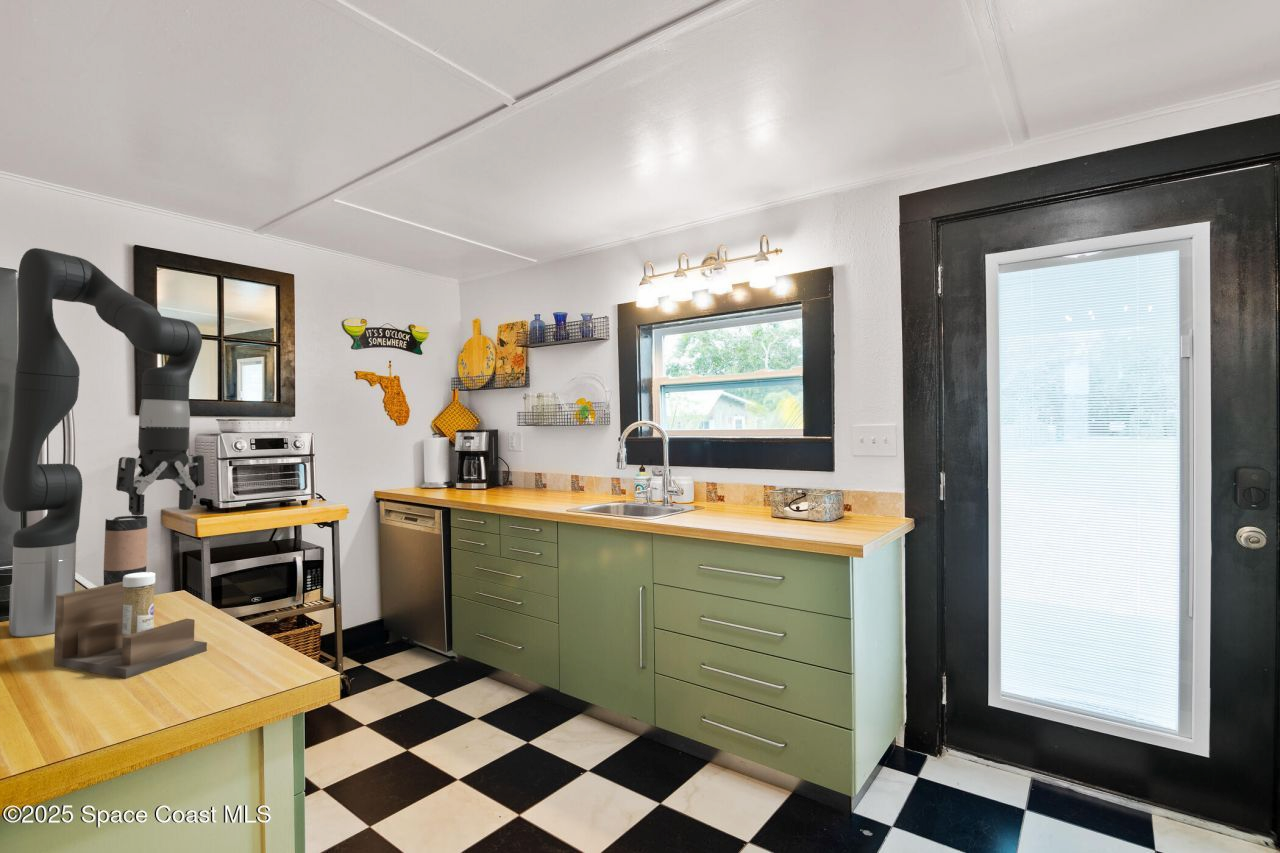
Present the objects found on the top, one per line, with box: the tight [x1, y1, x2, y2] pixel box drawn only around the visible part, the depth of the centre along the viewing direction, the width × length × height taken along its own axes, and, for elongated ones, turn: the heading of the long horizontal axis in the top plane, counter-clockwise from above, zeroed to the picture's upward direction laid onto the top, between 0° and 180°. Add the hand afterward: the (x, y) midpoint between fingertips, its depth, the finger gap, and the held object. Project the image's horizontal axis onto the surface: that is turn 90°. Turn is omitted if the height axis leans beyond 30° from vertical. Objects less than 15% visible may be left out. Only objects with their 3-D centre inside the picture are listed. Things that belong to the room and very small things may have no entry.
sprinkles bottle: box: [122, 571, 156, 637], centre depth 112 cm, size 5×5×14 cm
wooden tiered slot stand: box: [53, 582, 208, 679], centre depth 112 cm, size 17×14×12 cm
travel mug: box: [103, 515, 148, 586], centre depth 144 cm, size 8×8×20 cm
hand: (161, 512), depth 117 cm, fingers open, 8 cm apart
